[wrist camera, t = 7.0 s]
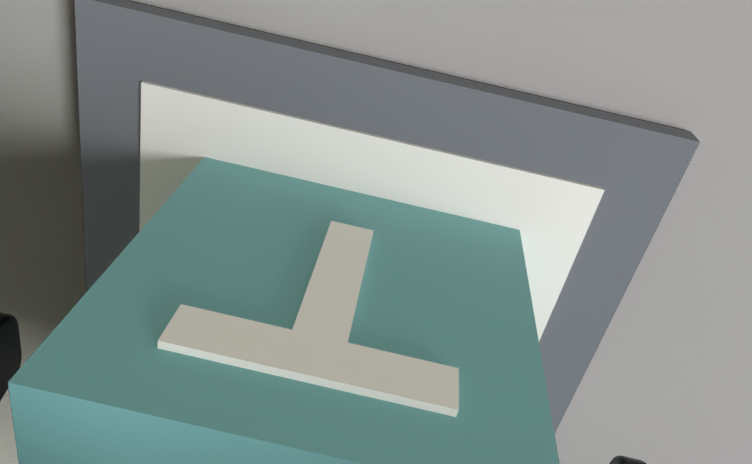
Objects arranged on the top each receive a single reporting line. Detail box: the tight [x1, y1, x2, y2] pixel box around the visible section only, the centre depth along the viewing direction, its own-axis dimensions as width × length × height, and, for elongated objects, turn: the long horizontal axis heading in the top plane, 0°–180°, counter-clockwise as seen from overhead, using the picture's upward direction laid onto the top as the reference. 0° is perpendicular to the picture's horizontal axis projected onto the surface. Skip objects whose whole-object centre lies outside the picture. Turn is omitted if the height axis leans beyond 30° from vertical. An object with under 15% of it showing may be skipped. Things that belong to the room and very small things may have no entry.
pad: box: [74, 0, 700, 434], centre depth 11 cm, size 9×9×1 cm
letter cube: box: [8, 157, 559, 464], centre depth 9 cm, size 5×5×5 cm
